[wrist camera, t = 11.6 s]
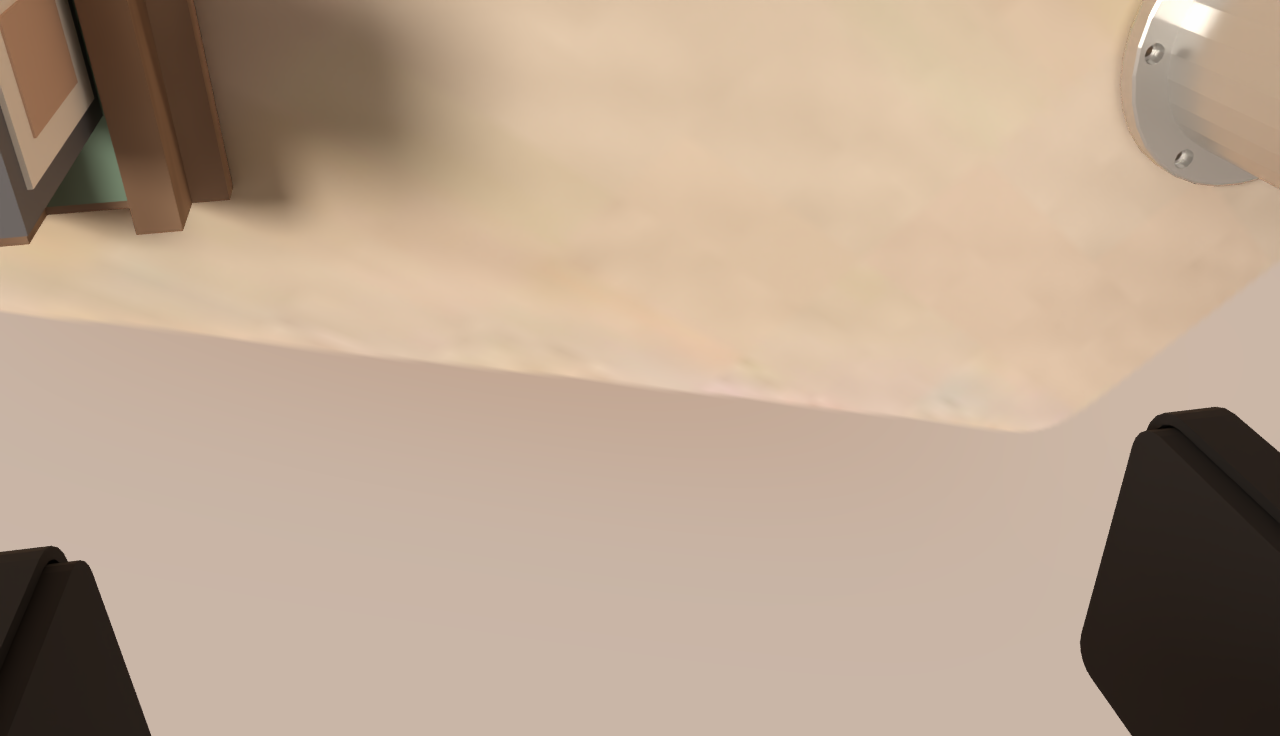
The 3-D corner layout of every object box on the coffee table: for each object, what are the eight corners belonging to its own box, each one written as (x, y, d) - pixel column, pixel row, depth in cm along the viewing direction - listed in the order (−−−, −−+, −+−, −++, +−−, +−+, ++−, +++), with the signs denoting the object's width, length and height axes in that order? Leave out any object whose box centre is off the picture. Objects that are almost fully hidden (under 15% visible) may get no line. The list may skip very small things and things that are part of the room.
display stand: (142, -241, 33) (120, -235, 30) (233, 187, 41) (222, 227, 38) (-184, -237, 32) (-243, -230, 29) (-29, 208, 39) (-63, 251, 36)
